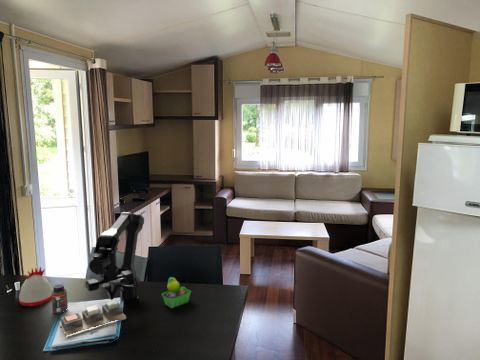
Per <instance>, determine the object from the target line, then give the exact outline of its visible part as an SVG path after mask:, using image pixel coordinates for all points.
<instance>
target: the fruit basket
mask: <svg viewBox="0 0 480 360" xmlns="http://www.w3.org/2000/svg"><path fill="white" fill-rule="evenodd" d="M166 286H167V287H166V288H167V291H166V292H165V291H164V292H162V293H161V297H162V298H163V301H164V305H166V306H167V307H168V308H170V309H173V308H177V307H179V306H181V305H182V306H183V305H184V304H187V303H189V300H190V297H191V293H192V291H191V290H190V289H187V288H186V287H185V286H181V285H180V282H179V281H177V279H176V278H175V277H172V276H170V277H169V278H168V280H167V285H166Z"/></svg>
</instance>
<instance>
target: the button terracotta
mask: <svg viewBox="0 0 480 360" xmlns="http://www.w3.org/2000/svg"><path fill="white" fill-rule="evenodd" d="M73 314H74V315H71V314H69V315H70V316H68V315H66V316H67V317H65V321H66V323H67V322H71V321H74V320H77V319H78V317H77V315H76V314H75V313H73Z"/></svg>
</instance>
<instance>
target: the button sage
mask: <svg viewBox="0 0 480 360" xmlns="http://www.w3.org/2000/svg"><path fill="white" fill-rule="evenodd" d="M118 303H119V302H118V301H117V300H116V299H113V300H108V301H105V305H106V308H107V309H108V310H111V309H114V308H117V307H119V306H118Z"/></svg>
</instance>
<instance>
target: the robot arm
mask: <svg viewBox="0 0 480 360" xmlns="http://www.w3.org/2000/svg"><path fill="white" fill-rule="evenodd" d="M144 224H145V218H144V216H143V215H142V214H135V213H133V212H131V211H129V212H126V211H123V212H121V213H120V215H119V217H118V218H117V219H116V221H115V222H114V223H113V224H112V226H111V227H110V228H109V229H108V230H104V231H103V232H101V234H99V236H98V237H97V239H96V244H95V245H94V246H95V247H94V250H93V253H94V254H95V255H93V258H92V259H91V261H90V262H89V265H88V267H89V270H90V271H91V272H92V273H93V274H94V275H95V276H99V277H100V278H101V279H96V278H90V279H87V280H86V281H85V282H84V284H85V285H84V287H85V288H86V290H88V292H93V291H97V290H99V288H100V287H101V288H102V289H103V290H105V291H106V292H107V295H108V298H109V299H110V301H112V300H114V298H115V296H116V293H117V291H118V289H119V288H120V290H119V293H120V294H119V296H120V299H121V301H123V300H124V301H123V302H124V303H129V302H132V301H136V300H139V298H140V297H139V296H138V289H137V288H138V287H140V283H141V282H140V280H141V279H140V278H139V277H138V276H137V270H136V268H135V265H134V264H135V259H136V252H137V243H138V236H139V234H140V232H141V231H142V230H143V227H144V226H143V225H144ZM125 230H126V232H127V233H126V239H125V247H124V255H123V260H122V265H121V266H120V267H118V264H117V263H118V262H117V251H118V250H119V248H118V245H119V243H120V236H121V235H122V234H123V232H124V231H125Z"/></svg>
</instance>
